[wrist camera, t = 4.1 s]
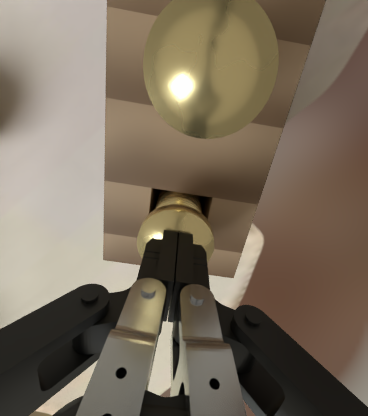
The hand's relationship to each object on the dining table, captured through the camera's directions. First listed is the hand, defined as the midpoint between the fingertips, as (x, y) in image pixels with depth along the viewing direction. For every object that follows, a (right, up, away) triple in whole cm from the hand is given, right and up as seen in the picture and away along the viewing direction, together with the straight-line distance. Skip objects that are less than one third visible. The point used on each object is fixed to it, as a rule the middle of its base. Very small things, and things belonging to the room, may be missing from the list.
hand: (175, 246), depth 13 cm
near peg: (+1, +11, +3) cm, 11 cm away
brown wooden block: (+1, +9, +9) cm, 13 cm away
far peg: (0, +5, +9) cm, 10 cm away
